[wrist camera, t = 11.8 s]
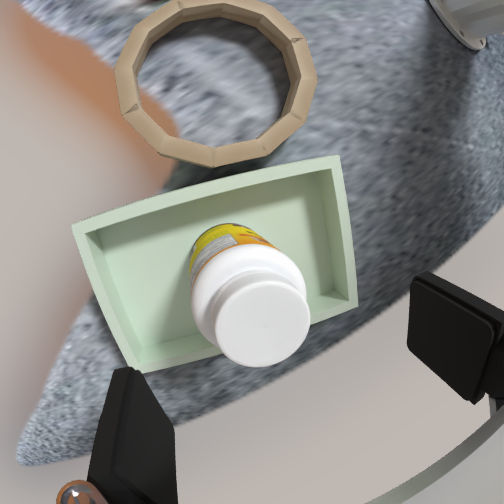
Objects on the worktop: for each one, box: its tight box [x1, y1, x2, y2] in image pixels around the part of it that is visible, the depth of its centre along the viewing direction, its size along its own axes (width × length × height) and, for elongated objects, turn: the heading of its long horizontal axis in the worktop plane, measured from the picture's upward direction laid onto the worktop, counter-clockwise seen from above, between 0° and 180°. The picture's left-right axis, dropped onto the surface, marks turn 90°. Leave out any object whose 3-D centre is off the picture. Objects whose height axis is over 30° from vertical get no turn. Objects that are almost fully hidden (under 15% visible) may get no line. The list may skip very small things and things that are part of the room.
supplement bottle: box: [189, 223, 310, 367], centre depth 16 cm, size 6×6×10 cm
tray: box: [71, 155, 358, 373], centre depth 20 cm, size 18×12×3 cm, turn 103°
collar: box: [114, 0, 318, 169], centre depth 17 cm, size 13×13×2 cm
